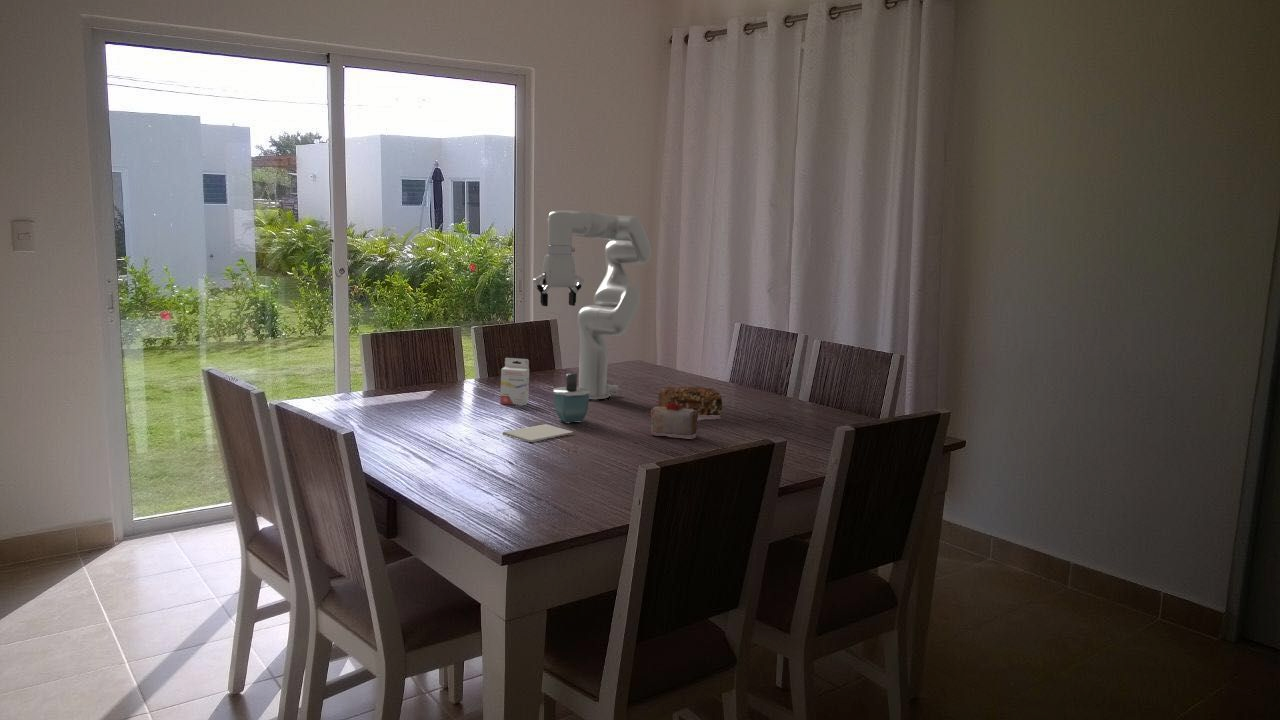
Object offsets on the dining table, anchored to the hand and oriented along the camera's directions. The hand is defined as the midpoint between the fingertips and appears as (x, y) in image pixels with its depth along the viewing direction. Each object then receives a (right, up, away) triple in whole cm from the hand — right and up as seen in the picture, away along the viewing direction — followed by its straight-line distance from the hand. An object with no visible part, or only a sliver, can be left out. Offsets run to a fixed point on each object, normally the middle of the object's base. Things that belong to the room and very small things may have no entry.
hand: (558, 305), depth 294 cm
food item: (+35, -40, -25) cm, 58 cm away
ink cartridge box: (-15, -32, +11) cm, 37 cm away
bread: (+41, -36, +1) cm, 55 cm away
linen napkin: (-3, -38, -29) cm, 48 cm away
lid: (+5, -27, -13) cm, 31 cm away
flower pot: (+5, -36, -12) cm, 38 cm away
